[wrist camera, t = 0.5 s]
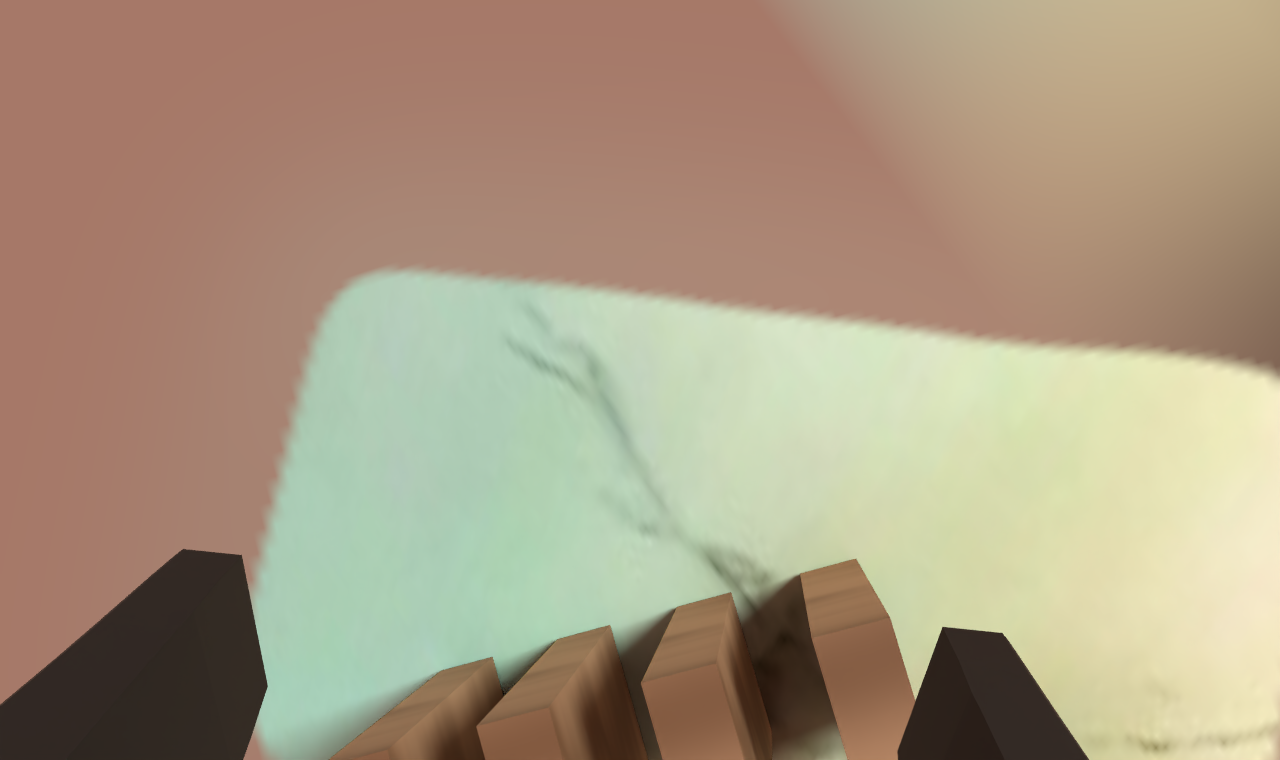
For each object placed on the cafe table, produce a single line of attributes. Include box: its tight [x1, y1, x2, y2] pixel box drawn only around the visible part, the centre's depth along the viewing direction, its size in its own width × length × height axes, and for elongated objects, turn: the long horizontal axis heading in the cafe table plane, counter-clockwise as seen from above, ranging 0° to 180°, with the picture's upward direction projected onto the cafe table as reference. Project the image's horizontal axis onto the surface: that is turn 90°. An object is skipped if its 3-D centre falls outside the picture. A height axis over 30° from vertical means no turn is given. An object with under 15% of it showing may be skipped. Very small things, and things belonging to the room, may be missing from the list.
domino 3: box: [641, 593, 772, 760], centre depth 30 cm, size 5×2×10 cm, turn 16°
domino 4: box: [800, 559, 915, 760], centre depth 30 cm, size 5×2×10 cm, turn 16°
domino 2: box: [476, 625, 648, 760], centre depth 31 cm, size 5×2×10 cm, turn 16°
